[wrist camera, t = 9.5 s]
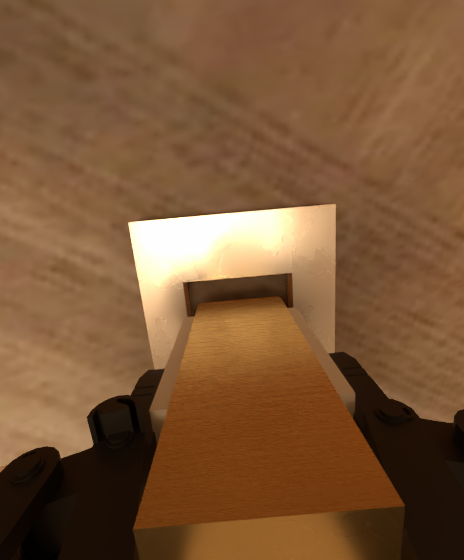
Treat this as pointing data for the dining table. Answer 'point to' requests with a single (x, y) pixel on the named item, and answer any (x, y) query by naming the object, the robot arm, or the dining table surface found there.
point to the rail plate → (236, 264)
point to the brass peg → (262, 452)
